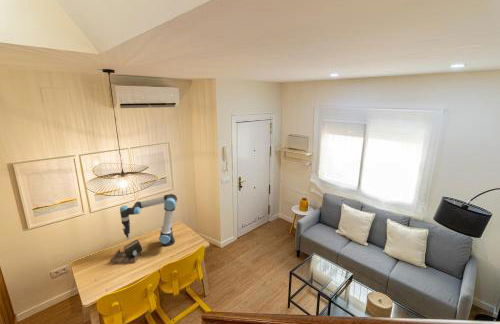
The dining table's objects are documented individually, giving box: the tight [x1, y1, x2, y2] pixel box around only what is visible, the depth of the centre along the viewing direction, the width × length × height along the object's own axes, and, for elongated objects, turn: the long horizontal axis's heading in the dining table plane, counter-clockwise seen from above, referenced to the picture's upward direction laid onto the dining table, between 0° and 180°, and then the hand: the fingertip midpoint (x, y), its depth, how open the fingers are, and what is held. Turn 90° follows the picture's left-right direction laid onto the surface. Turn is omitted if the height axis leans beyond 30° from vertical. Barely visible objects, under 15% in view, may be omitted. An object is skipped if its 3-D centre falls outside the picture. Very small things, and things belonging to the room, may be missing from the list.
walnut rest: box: [110, 249, 142, 265], centre depth 262 cm, size 24×18×5 cm
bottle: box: [123, 239, 143, 258], centre depth 265 cm, size 8×16×25 cm
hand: (128, 239), depth 267 cm, fingers closed
